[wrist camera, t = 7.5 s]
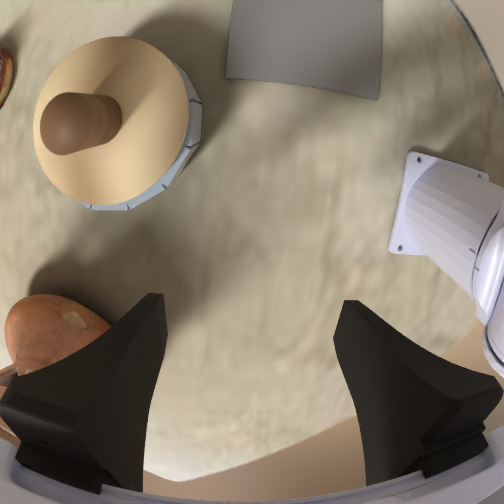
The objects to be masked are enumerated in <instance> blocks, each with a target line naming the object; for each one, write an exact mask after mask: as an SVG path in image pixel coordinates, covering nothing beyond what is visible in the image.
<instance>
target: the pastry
mask: <svg viewBox="0 0 504 504" xmlns="http://www.w3.org/2000/svg"><path fill="white" fill-rule="evenodd" d="M12 78H13V61H12V59H11V57H10V56H9V54H8V53H7V51H6V50H5V48H3V47H1V46H0V109H1V108H2V106H3V105H4V103H5V101H6V99H7V97H8V94H9V90H10V86H11V82H12Z"/></svg>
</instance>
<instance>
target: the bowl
mask: <svg viewBox="0 0 504 504" xmlns="http://www.w3.org/2000/svg"><path fill="white" fill-rule="evenodd" d="M167 58H168V57H167ZM168 59H169V60H170V61H171V62H172V63H173V64H174V65H175V67H176V68H177V70H178V71H179V73H180V75H181V77H182V79H183V81H184V84H185V87H186V90H187V95H188V100H189V123H188V128H187V133H186V137H185V140H184V143H183V146H182V148H181V150H180V152H179V154H178V156H177V158H176V159H175V161H174V162H173V164H172V166H171V167H170V168H169V169H168V171H167V172H166V173H165V174H164V175H163V176H162V177H161V178H160V179H159V180H158V181H157V182H156V183H155V184H153V185H152V186H151V187H150V188H148V189H147V190H146V191H144V192H143V193H141V194H140V195H138V196H136V197H135V198H132V199H130V200H127V201H125V202H121V203H118V204H113V205H92V204H86V203H83V202H80V201H77V200H75V199H74V200H75V201H77V202H78V203H80V204H82V205H83V206H85V207H86V208H88V209H90V208H91V207H92V210H127V211H128V210H129V209H133V208H134V207H136V206H138V205H139V204H141V203H143V202H144V201H146V200H148V199H150V198H151V197H153V196H155V195H156V194H158V193H160V192H162V191H163V190H165V189H166V188H167V187H168V186H169V185H170V184H171V183H172V182H173V181H174V180H175V179H176V178H177V177H178V176H179V175H180V174H181V172H182V171H183V169H184V167H185V166H186V164H187V162H188V161H189V159H190V158H191V156H192V154H193V153H194V151H195V150H196V148H197V147H198V145H199V143H198V142H199V141H200V140H201V122H202V107H203V105H200V103H202V102H201V100H200V98H199V96H198V94H197V92H196V90H195V88H194V87H193V85H192V83H191V81H190V79H189V77H188V75H187V74H186V72H185V71H184V70H183V69H181V68H180V67H179V66H178V65H177V64H176V63H175V62H174V61H172V60H171V59H170V58H168ZM61 192H62V191H61ZM72 199H73V198H72Z"/></svg>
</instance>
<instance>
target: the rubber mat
mask: <svg viewBox="0 0 504 504" xmlns="http://www.w3.org/2000/svg"><path fill="white" fill-rule="evenodd" d="M381 46H382V0H233V6H232V15H231V24H230V33H229V43H228V53H227V64H226V76H225V78H227V79H245V80H258V81H269V82H278V83H286V84H294V85H301V86H308V87H314V88H320V89H326V90H331V91H336V92H342V93H346V94H351V95H356V96H360V97H364V98H368V99H372V100H378V95H379V83H380V68H381Z"/></svg>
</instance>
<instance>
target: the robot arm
mask: <svg viewBox="0 0 504 504" xmlns="http://www.w3.org/2000/svg"><path fill="white" fill-rule="evenodd" d="M418 157H420V161H419V162H418V161H417V158H418ZM400 245H401V247H400V248H399V249H398V247H399V246H400ZM388 249H389V251H390V252H391V253H396V254H413V255H426V256H427V257H429V258H430V259H431V260H432V261H433V262H434V263H435V264H436V265H438V266H439V267H440V268H441V269H442V270H443V271H444V272H445V273H446V274H447V275H448V276H450V277H451V278H452V279H453V280H454V281H455V282H456V283H457V284H458V285H459V286H460V287H461V288H462V289H463V290H464V291H465V292H466V293H467V294H468V295H469V296H470V297H471V298H472V299H473V300H474V301H475V302H476V304H477V309H476V313H475V316H476V317H477V318H478V319H479V320H480V321H481V322H482V323H483V324H484V326H485V328H484V330H483V334H482V347H483V351H484V354H485V356H486V358H487V360H488V362H489V363H490V365H491V366H492V367H493V369H494V370H495V371H496V372H497V373H498V374H499V375H501V376H502V377H503V378H504V188H503V187H501V186H498V185H496V184H494V183H491V182H489V176H488V174H487V173H484V172H481V171H478V170H475V169H472V168H469V167H466V166H463V165H460V164H457V163H454V162H450V161H447V160H444V159H440V158H437V157H433V156H430V155H426V154H422V153H418V152H414V151H411V152H409V153H408V155H407V159H406V165H405V171H404V177H403V182H402V187H401V192H400V197H399V202H398V207H397V211H396V216H395V220H394V225H393V229H392V233H391V237H390V241H389V245H388ZM167 335H168V333H167V324H166V315H165V305H164V295H163V294H156V293H148V294H147V295H146V296H145V297H144V298H142V299H141V300H140V301H139V302H138V303H137V304H136V305H135V306H134V307H133V308H132V309H131V310H130V311H129V312H128V313H127V314H125V315H124V316H123V317H122V318H121V319H120V320H119V321H118V322H117V323H115V324H114V325H113V326H112V327H111V328H109V329H108V330H107V331H106V332H104V333H103V334H102V335H101V336H99V337H98V338H97V339H95V340H94V341H92V342H91V343H89V344H88V345H86V346H85V347H83V348H82V349H80V350H78V351H76V352H74V353H73V354H71V355H69V356H67V357H66V358H64V359H62V360H60V361H58V362H55V363H53V364H51V365H49V366H46V367H44V368H42V369H39V370H36V371H33V372H30V373H27V374H24V375H21V376H18V377H14V378H12V380H11V382H10V383H9V385H8V387H7V389H6V390H5V392H4V394H3V396H2V397H1V399H0V416H1V418H2V419H3V421H4V422H5V423H6V424H7V426H8V427H9V428H10V429H11V430H12V432H13V433H14V434H15V435H16V436H17V437H18V438H19V439H20V441H21V444H20V446H19V448H18V447H17V446H15V445H14V444H12V443H11V442H9V441H7V440H5V439H3V438H1V437H0V504H477V503H478V502H480V501H481V500H483V499H484V498H486V497H487V496H489V495H491V494H492V493H493V492H495V491H496V490H498V489H499V488H501V487H502V486H503V485H504V426H502V427H500V428H498V429H496V430H495V431H493V432H491V433H490V434H488V435H487V436H486V437H484V435H483V433H482V432H483V431H484V430H485V425H484V424H483V421H484V420H485V419H486V418H487V417H488V415H489V414H490V413H491V412H492V411H493V410H494V408H495V407H496V406H497V404H498V403H499V402H500V400H501V398H502V396H503V392H504V391H503V388H502V387H501V385H500V384H499V383H498V381H497V380H496V378H495V377H494V376H491V375H487V374H483V373H480V372H476V371H472V370H469V369H467V368H464V367H461V366H458V365H456V364H453V363H451V362H449V361H447V360H445V359H443V358H441V357H438V356H436V355H435V354H433V353H431V352H429V351H427V350H426V349H424V348H422V347H421V346H419V345H417V344H416V343H414V342H413V341H411V340H410V339H408V338H407V337H405V336H404V335H403V334H401V333H400V332H398V331H397V330H396V329H394V328H393V327H392V326H391V325H389V324H388V323H387V322H385V321H384V320H383V319H382V318H380V317H379V316H378V315H377V314H375V313H374V312H373V311H372V310H370V309H369V308H368V307H366V306H365V305H364V304H362V303H361V302H359V301H358V300H344V303H343V306H342V310H341V313H340V317H339V320H338V324H337V327H336V330H335V333H334V337H333V340H334V345H335V350H336V354H337V358H338V361H339V364H340V367H341V369H342V372H343V375H344V377H345V380H346V383H347V385H348V388H349V391H350V393H351V396H352V399H353V402H354V405H355V408H356V413H357V417H358V422H359V426H360V432H361V438H362V443H363V451H364V460H365V471H366V487H362V488H357V489H353V490H348V491H343V492H338V493H333V494H327V495H320V496H313V497H305V498H296V499H286V500H274V501H248V502H247V501H246V502H245V501H244V502H237V501H236V502H235V501H234V502H233V501H232V502H231V501H205V500H193V499H182V498H173V497H166V496H159V495H152V494H146V493H143V463H144V449H145V439H146V430H147V422H148V415H149V409H150V404H151V400H152V396H153V392H154V389H155V385H156V382H157V378H158V375H159V372H160V368H161V365H162V361H163V358H164V354H165V348H166V341H167Z"/></svg>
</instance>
